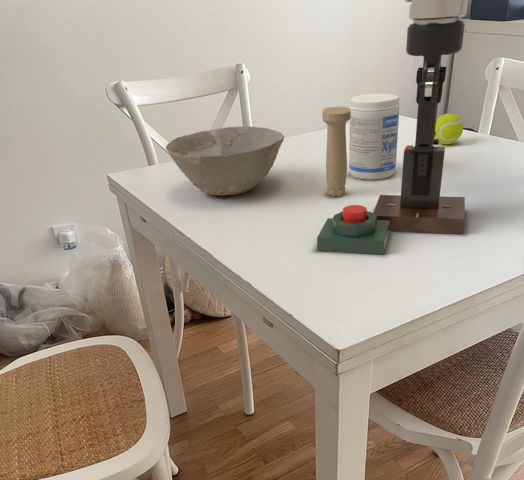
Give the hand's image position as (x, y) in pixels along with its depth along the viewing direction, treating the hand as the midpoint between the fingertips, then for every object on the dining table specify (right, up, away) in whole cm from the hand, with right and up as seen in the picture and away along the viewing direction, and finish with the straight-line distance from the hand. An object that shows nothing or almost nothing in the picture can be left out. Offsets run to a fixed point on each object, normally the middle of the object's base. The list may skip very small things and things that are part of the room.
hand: (420, 190), depth 87 cm
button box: (-11, -9, -2) cm, 14 cm away
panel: (0, -4, +3) cm, 5 cm away
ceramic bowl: (-32, +7, +24) cm, 40 cm away
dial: (0, -2, +1) cm, 2 cm away
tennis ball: (+18, +23, +40) cm, 49 cm away
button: (-11, -6, -4) cm, 14 cm away
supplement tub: (-3, +11, +26) cm, 28 cm away
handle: (-11, +4, +17) cm, 21 cm away
